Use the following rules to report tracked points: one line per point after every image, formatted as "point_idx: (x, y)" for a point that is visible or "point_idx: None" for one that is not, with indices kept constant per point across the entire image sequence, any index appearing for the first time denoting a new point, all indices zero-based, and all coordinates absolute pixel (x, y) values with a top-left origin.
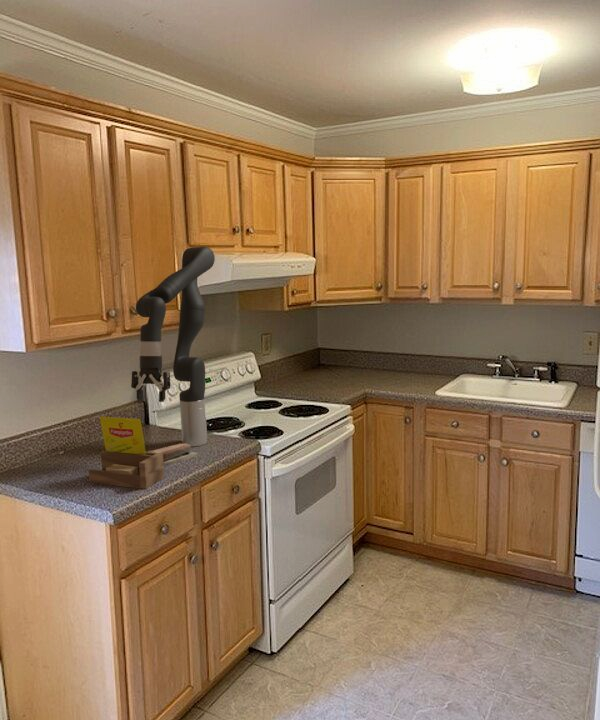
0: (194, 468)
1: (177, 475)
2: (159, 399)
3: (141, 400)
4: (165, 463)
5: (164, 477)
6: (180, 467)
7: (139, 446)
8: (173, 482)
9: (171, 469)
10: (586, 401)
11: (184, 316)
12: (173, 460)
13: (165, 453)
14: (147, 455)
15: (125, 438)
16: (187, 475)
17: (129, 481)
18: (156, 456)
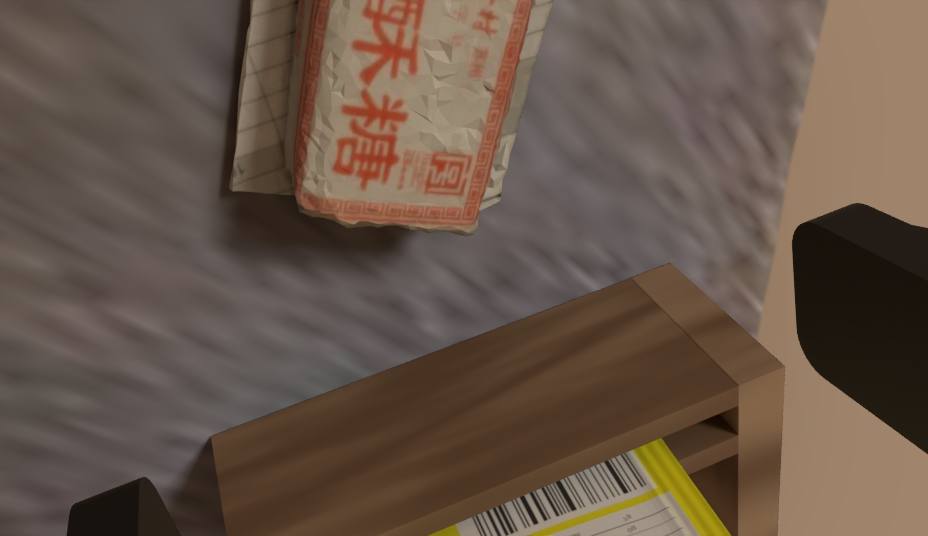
0: (771, 3)
1: (727, 185)
2: (859, 386)
3: (176, 529)
4: (524, 97)
5: (670, 263)
6: (655, 48)
7: (667, 533)
8: (767, 278)
9: (615, 124)
10: None
11: None
12: (550, 8)
13: (515, 73)
14: (701, 460)
15: None
16: (790, 145)
17: None
18: (775, 429)
